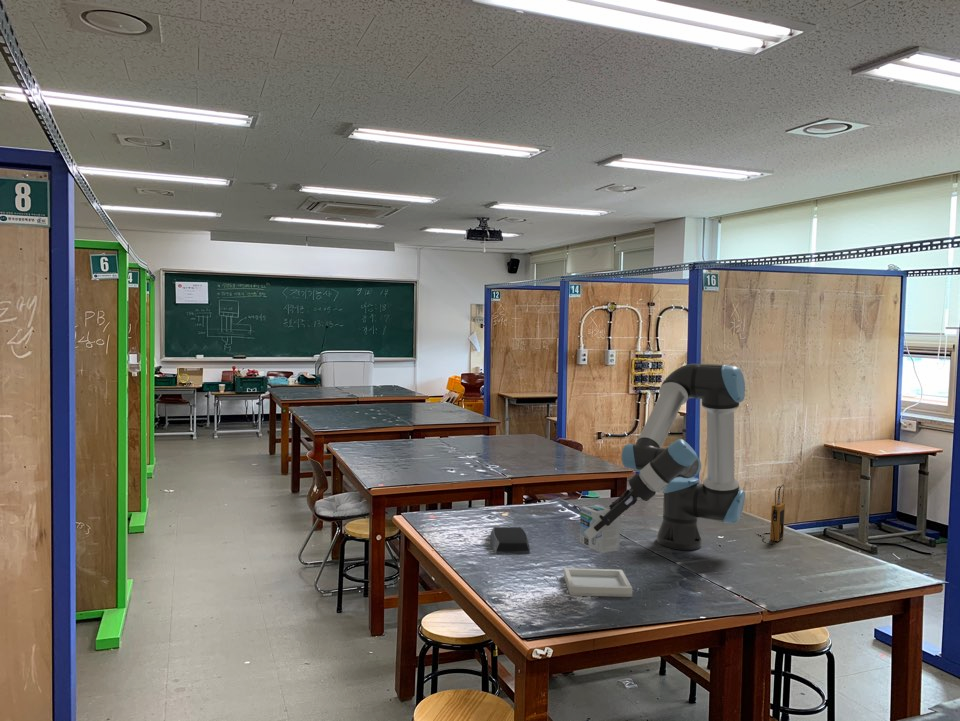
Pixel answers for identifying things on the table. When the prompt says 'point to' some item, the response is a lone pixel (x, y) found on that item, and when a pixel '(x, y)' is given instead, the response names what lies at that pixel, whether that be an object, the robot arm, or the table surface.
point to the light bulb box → (606, 537)
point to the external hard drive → (509, 540)
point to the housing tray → (597, 582)
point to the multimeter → (777, 519)
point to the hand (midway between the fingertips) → (591, 529)
